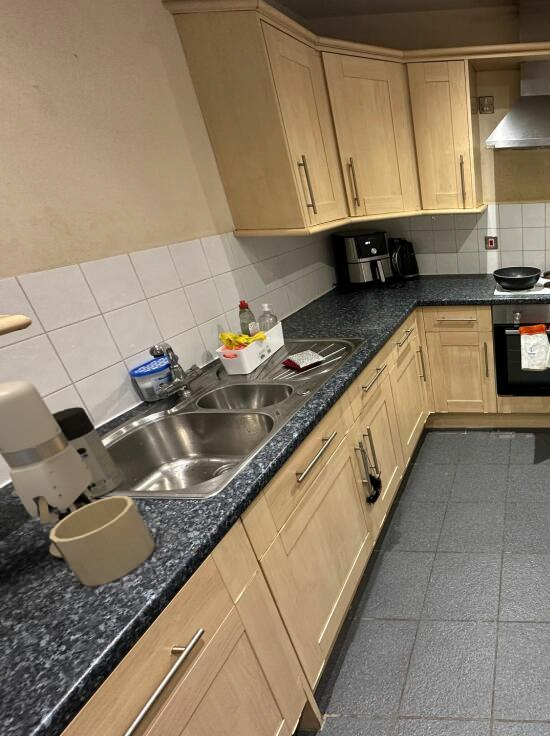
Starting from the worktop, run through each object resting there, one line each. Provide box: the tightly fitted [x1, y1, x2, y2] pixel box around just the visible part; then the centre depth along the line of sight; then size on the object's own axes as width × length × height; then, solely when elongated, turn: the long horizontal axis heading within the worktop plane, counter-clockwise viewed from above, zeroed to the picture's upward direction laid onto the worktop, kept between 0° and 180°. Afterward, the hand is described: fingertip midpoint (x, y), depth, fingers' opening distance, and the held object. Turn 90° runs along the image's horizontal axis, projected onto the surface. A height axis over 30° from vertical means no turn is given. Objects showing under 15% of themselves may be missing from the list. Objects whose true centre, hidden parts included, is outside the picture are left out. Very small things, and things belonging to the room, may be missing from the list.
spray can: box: [51, 406, 123, 499], centre depth 90 cm, size 7×7×20 cm
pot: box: [49, 495, 156, 587], centre depth 72 cm, size 10×10×10 cm
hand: (86, 526), depth 79 cm, fingers closed on pot lid, 2 cm apart
